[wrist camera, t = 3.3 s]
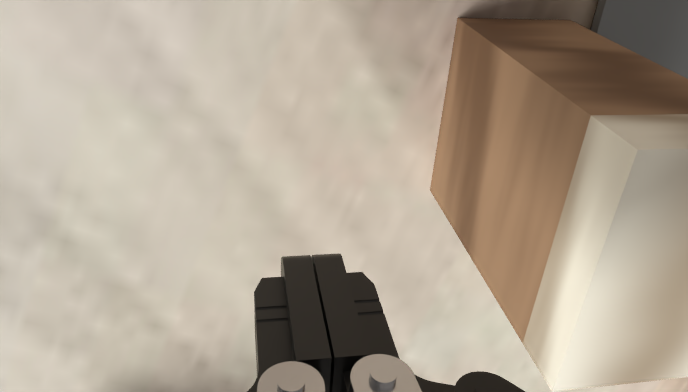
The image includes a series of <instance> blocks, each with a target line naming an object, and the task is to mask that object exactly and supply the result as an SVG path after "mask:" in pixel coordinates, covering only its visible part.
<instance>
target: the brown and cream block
mask: <svg viewBox="0 0 688 392" xmlns="http://www.w3.org/2000/svg"><path fill="white" fill-rule="evenodd" d="M430 191H431V192H432V194H433V196H434V197H435V199H436V201H437V202H438V204H439V206H440V207H441V209H442V211H443V212H444V214H445V216H446V217H447V219H448V221H449V222H450V224H451V226H452V227H453V229H454V230H455V232H456V234H457V235H458V237H459V239H460V240H461V242H462V244H463V245H464V247H465V249H466V250H467V252H468V254H469V255H470V257H471V259H472V260H473V262H474V264H475V265H476V267H477V268H478V270H479V272H480V273H481V275H482V277H483V278H484V280H485V282H486V283H487V285H488V287H489V288H490V290H491V292H492V293H493V295H494V297H495V298H496V300H497V302H498V303H499V305H500V307H501V308H502V310H503V311H504V313H505V315H506V316H507V318H508V320H509V321H510V323H511V325H512V326H513V328H514V330H515V331H516V333H517V335H518V336H519V338H520V340H521V341H522V343H523V345H524V346H525V348H526V349H527V351H528V353H529V354H530V356H531V358H532V359H533V361H534V363H535V364H536V366H537V368H538V369H539V371H540V373H541V374H542V376H543V378H544V379H545V381H546V383H547V384H548V386H549V387H550V389H551V391H552V392H555V391H564V390H573V389H582V388H591V387H601V386H610V385H619V384H628V383H638V382H647V381H656V380H665V379H674V378H684V377H688V79H687V78H685V77H683V76H681V75H679V74H677V73H675V72H673V71H671V70H669V69H667V68H665V67H663V66H661V65H659V64H657V63H655V62H653V61H651V60H649V59H647V58H645V57H643V56H641V55H639V54H637V53H635V52H633V51H631V50H629V49H627V48H625V47H623V46H621V45H619V44H617V43H615V42H613V41H611V40H609V39H607V38H605V37H603V36H601V35H599V34H597V33H595V32H593V31H591V30H589V29H587V28H585V27H583V26H581V25H579V24H577V23H575V22H573V21H571V20H535V19H488V18H457V25H456V31H455V37H454V43H453V50H452V56H451V62H450V68H449V75H448V81H447V87H446V93H445V100H444V106H443V112H442V118H441V125H440V131H439V137H438V143H437V150H436V156H435V162H434V169H433V175H432V181H431V187H430Z"/></svg>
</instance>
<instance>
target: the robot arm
mask: <svg viewBox="0 0 688 392" xmlns="http://www.w3.org/2000/svg"><path fill="white" fill-rule="evenodd" d="M254 303H255V342H256V360H257V379H256V382H255V383H254V385H253V386H252V387H251V389H250V390H249V391H248V392H525V391H523V390H522V389H520V388H518V387H517V386H515V385H514V384H512V383H510V382H509V381H507V380H505V379H504V378H502V377H500V376H498V375H495V374H492V373H488V372H471V373H468V374H466V375H464V376H462V377H461V378H460V379H459V380H458V381H457V383H456V385H455V386H453V385H447V384H442V383H436V382H432V381H428V380H425V379H422V378H420V377H418V376H416V375H414V373H413V371H412V370H411V368H410V367H409V366H408V365H407V364H406V363H405V362H403V361H402V360H400V359H399V356H398V353H397V350H396V348H395V345H394V342H393V339H392V336H391V333H390V330H389V327H388V324H387V321H386V318H385V315H384V314H383V309H382V306H381V303H380V302H379V297H378V294H377V291H376V288H375V285H374V284H373V283H372V282H371V281H370V280H369V279H368V278H367V277H366V276H365V275H364V274H363V273H362V272H356V273H346V270H345V266H344V263H343V259H342V256H341V254H324V255H312V257H311V256H310V255H307V256H287V257H282V258H281V277H271V278H262V279H261V281H260V283H259V284H258V286H257V288H256V290H255V292H254Z"/></svg>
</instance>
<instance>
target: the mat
mask: <svg viewBox="0 0 688 392" xmlns="http://www.w3.org/2000/svg"><path fill="white" fill-rule="evenodd" d="M591 31H593V32H595V33H597V34H599V35H601V36H603V37H605V38H607V39H609V40H611V41H613V42H615V43H617V44H619V45H621V46H623V47H625V48H627V49H629V50H631V51H633V52H635V53H637V54H639V55H641V56H643V57H645V58H647V59H649V60H651V61H653V62H655V63H657V64H659V65H661V66H663V67H665V68H667V69H669V70H671V71H673V72H675V73H677V74H679V75H681V76H683V77H685V78H687V79H688V0H599V1H598V5H597V8H596V12H595V16H594V19H593V23H592V26H591Z"/></svg>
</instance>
